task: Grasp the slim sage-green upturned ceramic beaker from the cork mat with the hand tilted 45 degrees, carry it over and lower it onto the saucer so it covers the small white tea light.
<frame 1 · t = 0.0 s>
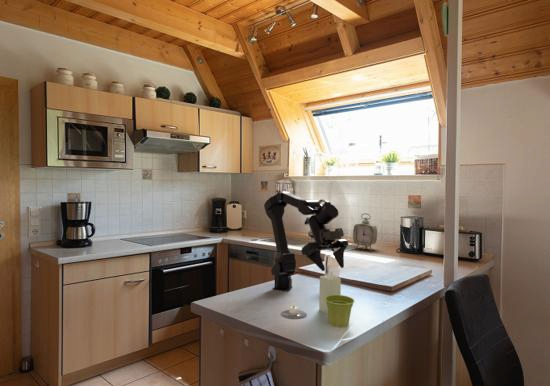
hand: (333, 269, 136), 15 cm above the worktop, tool tilted 35°, fingers open, 9 cm apart
tabletop clock: (365, 249, 262), on the worktop
beer glass: (331, 290, 162), on the worktop
tea light: (293, 314, 129), point 1 cm above the worktop, touching saucer
saucer: (293, 316, 129), on the worktop
cover: (329, 312, 133), resting on mat
plant pot: (338, 326, 122), on the worktop
mat: (329, 313, 133), on the worktop
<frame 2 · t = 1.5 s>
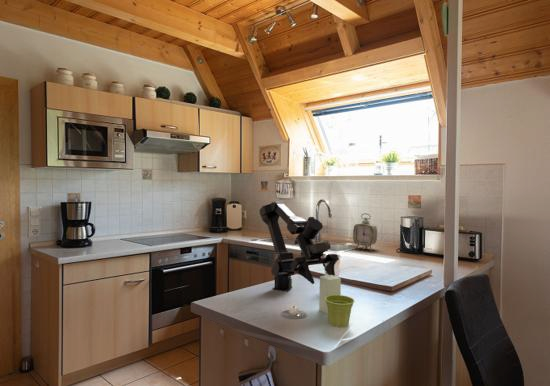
hand: (324, 281, 136), 10 cm above the worktop, tool tilted 45°, fingers open, 9 cm apart
nothing on the worktop moved.
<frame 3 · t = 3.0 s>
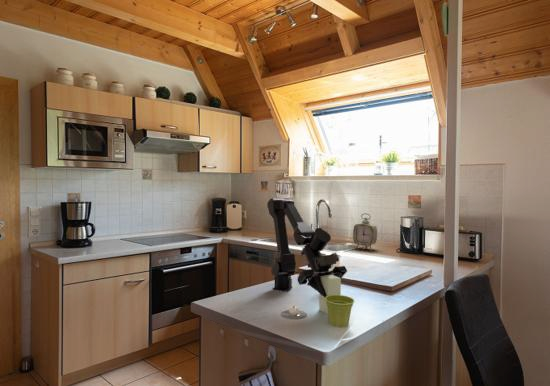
hand: (332, 295, 132), 7 cm above the worktop, tool tilted 45°, fingers closed on cover, 5 cm apart
cover: (329, 312, 133), resting on mat, touching gripper
everything else where it was.
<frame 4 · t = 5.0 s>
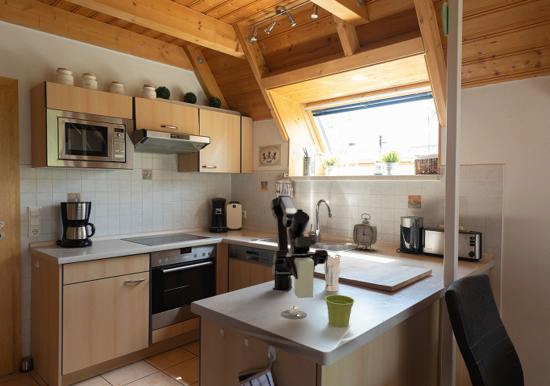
hand: (304, 278, 128), 13 cm above the worktop, tool tilted 45°, fingers closed on cover, 5 cm apart
cover: (303, 295, 130), point 7 cm above the worktop, touching gripper
everything else where it was.
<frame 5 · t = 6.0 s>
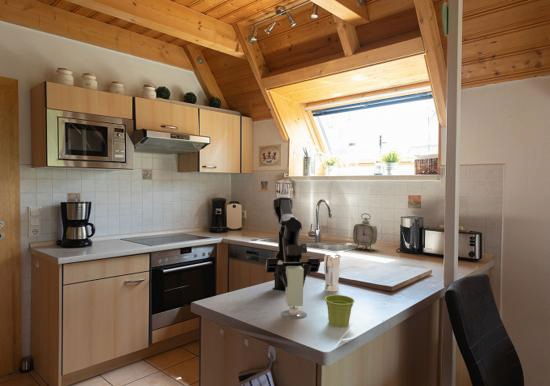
hand: (294, 286, 128), 11 cm above the worktop, tool tilted 45°, fingers closed on cover, 5 cm apart
cover: (293, 303, 129), point 4 cm above the worktop, touching gripper
everything else where it was.
when the fingers open (8 cm above the worktop, at t = 6.9 s): cover drops 1 cm, resting on saucer.
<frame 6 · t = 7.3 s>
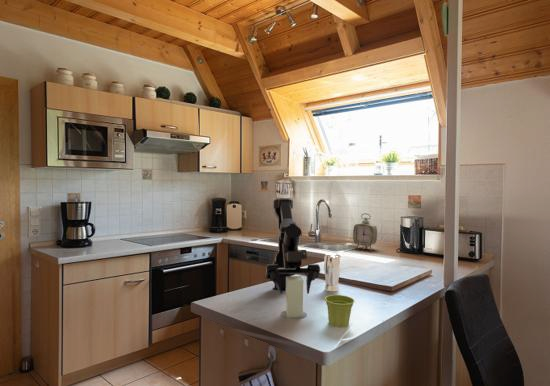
hand: (294, 293, 128), 8 cm above the worktop, tool tilted 45°, fingers open, 9 cm apart
cover: (293, 314, 129), point 1 cm above the worktop, touching saucer
everything else where it was.
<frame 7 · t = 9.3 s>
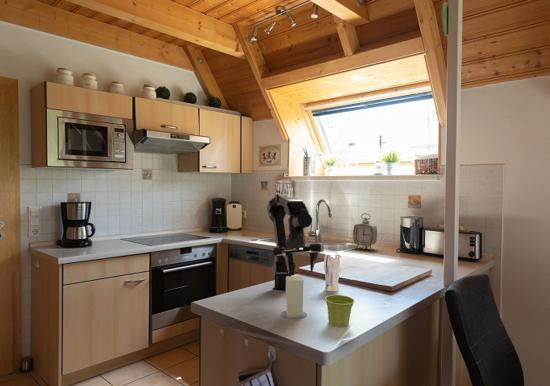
hand: (299, 273, 142), 12 cm above the worktop, tool tilted 15°, fingers open, 9 cm apart
nothing on the worktop moved.
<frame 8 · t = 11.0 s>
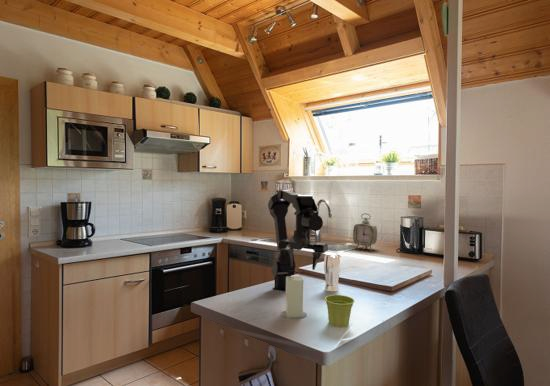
hand: (302, 268, 145), 13 cm above the worktop, tool pointing down, fingers open, 9 cm apart
nothing on the worktop moved.
at the end: cover 0.1 cm from the tea light (horizontally); cover tilted 0°; cover point 0.8 cm above the worktop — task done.
